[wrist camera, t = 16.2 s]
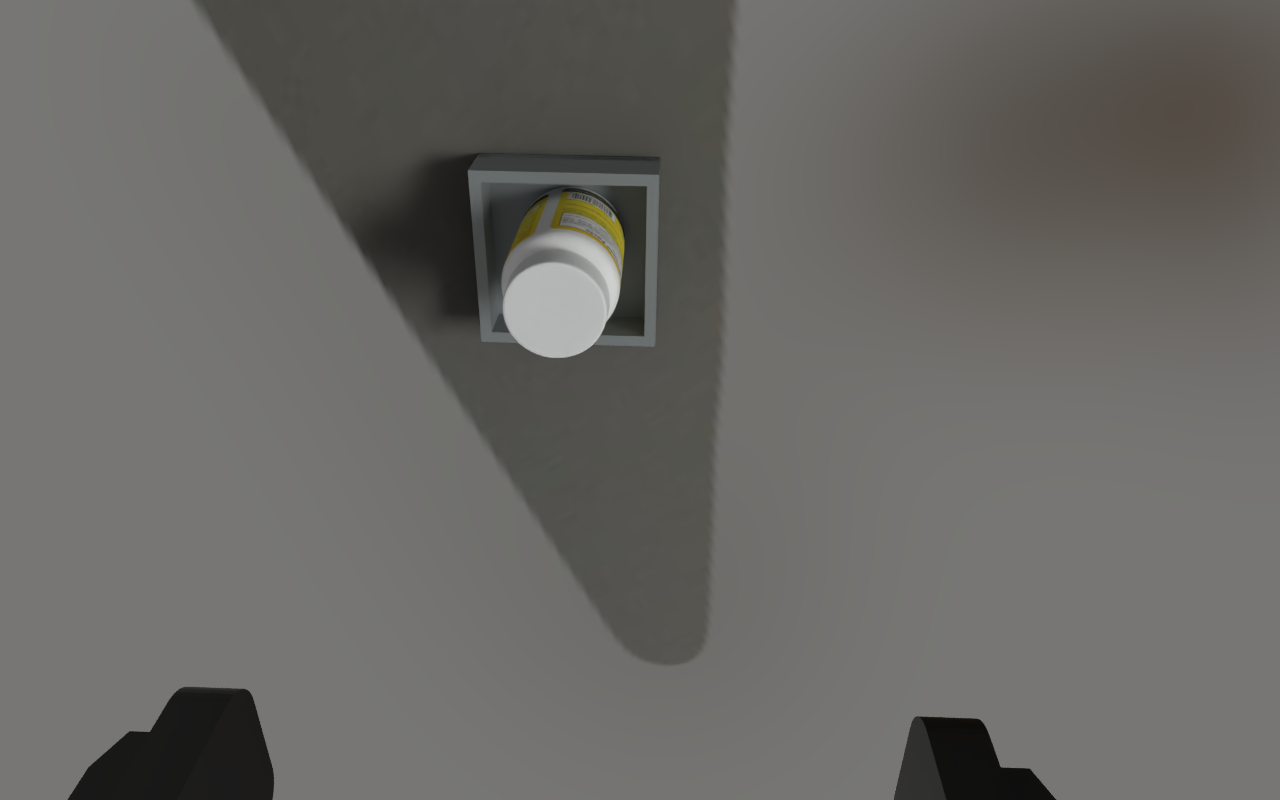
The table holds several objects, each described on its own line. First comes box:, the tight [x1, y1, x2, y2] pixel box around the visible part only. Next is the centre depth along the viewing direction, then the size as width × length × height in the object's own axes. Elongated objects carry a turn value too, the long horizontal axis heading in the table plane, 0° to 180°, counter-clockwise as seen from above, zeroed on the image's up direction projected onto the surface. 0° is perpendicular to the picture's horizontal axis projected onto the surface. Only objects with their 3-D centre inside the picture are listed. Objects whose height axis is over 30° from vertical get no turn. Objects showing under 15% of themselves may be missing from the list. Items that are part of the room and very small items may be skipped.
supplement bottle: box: [501, 186, 625, 358], centre depth 39 cm, size 5×5×8 cm
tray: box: [468, 153, 660, 347], centre depth 42 cm, size 8×8×3 cm
